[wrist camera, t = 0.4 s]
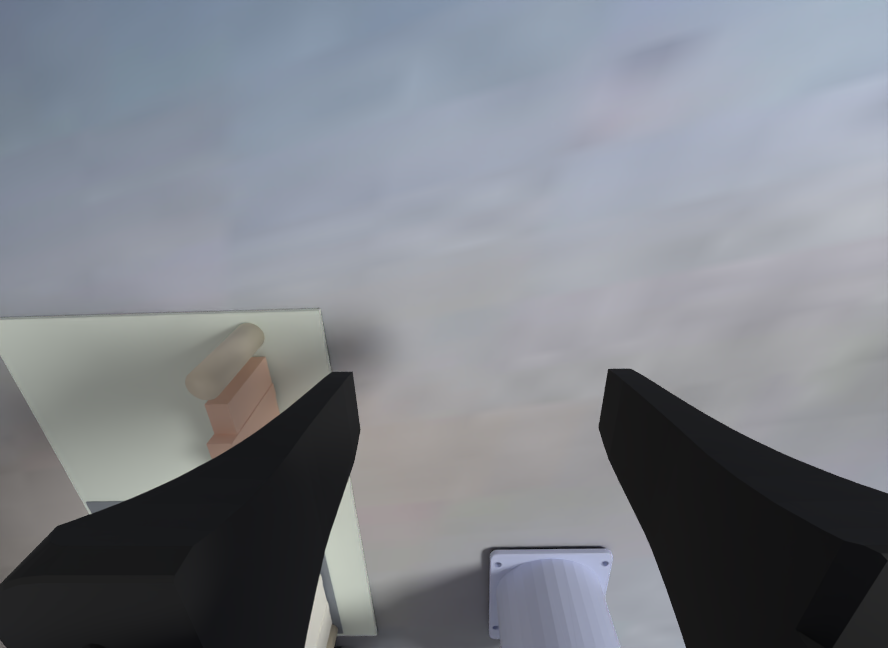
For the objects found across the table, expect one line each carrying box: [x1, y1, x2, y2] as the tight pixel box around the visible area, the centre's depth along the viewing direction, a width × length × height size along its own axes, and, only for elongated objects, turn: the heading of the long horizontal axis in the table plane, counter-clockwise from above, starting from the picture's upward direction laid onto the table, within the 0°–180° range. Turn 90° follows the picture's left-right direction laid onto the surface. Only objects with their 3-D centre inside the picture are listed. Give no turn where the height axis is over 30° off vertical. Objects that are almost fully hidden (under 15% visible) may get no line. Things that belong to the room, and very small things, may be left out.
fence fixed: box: [305, 574, 338, 648], centre depth 27 cm, size 14×1×5 cm, turn 2°
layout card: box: [0, 309, 377, 636], centre depth 27 cm, size 27×17×1 cm, turn 2°
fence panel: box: [185, 323, 280, 459], centre depth 21 cm, size 12×1×5 cm, turn 2°
